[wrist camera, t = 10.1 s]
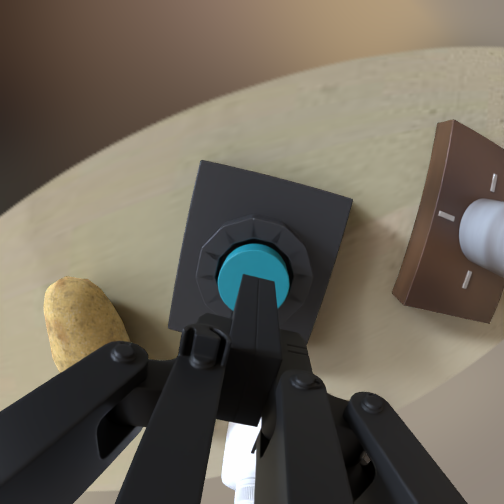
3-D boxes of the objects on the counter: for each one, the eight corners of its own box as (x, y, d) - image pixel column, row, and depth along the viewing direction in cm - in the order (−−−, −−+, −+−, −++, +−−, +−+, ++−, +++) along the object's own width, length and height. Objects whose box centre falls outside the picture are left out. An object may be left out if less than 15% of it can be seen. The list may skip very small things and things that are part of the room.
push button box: (298, 345, 24) (303, 374, 20) (174, 316, 24) (160, 340, 20) (345, 197, 21) (362, 201, 18) (206, 161, 21) (194, 158, 17)
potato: (99, 379, 26) (70, 419, 20) (56, 272, 24) (12, 296, 17) (159, 377, 26) (137, 423, 19) (118, 258, 23) (76, 284, 17)
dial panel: (475, 313, 23) (490, 324, 21) (391, 293, 23) (404, 306, 20) (516, 168, 20) (534, 170, 17) (436, 123, 20) (454, 118, 17)
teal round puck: (277, 312, 20) (278, 324, 18) (215, 297, 20) (211, 308, 18) (295, 252, 19) (298, 259, 17) (229, 236, 19) (226, 241, 17)
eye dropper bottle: (218, 402, 26) (197, 512, 14) (279, 388, 25) (285, 503, 14) (235, 432, 27) (223, 536, 15) (291, 421, 26) (301, 528, 15)
